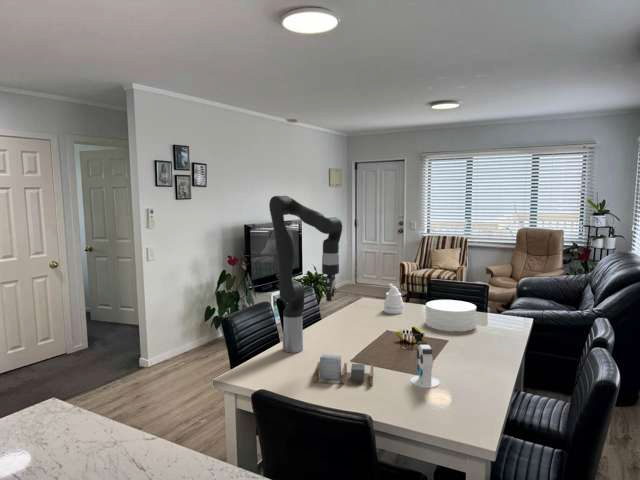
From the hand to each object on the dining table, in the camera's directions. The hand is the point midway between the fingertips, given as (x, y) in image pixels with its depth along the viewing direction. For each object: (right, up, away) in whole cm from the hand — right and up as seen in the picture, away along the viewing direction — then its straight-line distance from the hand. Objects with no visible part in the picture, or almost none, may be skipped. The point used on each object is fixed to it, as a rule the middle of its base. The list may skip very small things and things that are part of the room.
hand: (330, 298), depth 192 cm
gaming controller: (+43, -26, +32) cm, 60 cm away
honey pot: (+44, -21, +90) cm, 102 cm away
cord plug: (+11, -29, -17) cm, 36 cm away
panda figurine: (+37, -31, -19) cm, 52 cm away
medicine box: (0, -30, -17) cm, 34 cm away
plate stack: (+72, -23, +59) cm, 96 cm away
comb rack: (+5, -31, -18) cm, 36 cm away
